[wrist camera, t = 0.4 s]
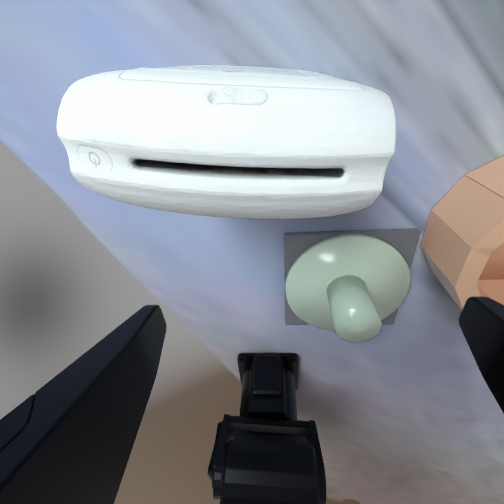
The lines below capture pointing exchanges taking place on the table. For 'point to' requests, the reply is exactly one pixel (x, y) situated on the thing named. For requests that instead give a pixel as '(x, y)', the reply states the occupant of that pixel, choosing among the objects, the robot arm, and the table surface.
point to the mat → (301, 241)
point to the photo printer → (229, 140)
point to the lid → (348, 285)
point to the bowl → (469, 236)
